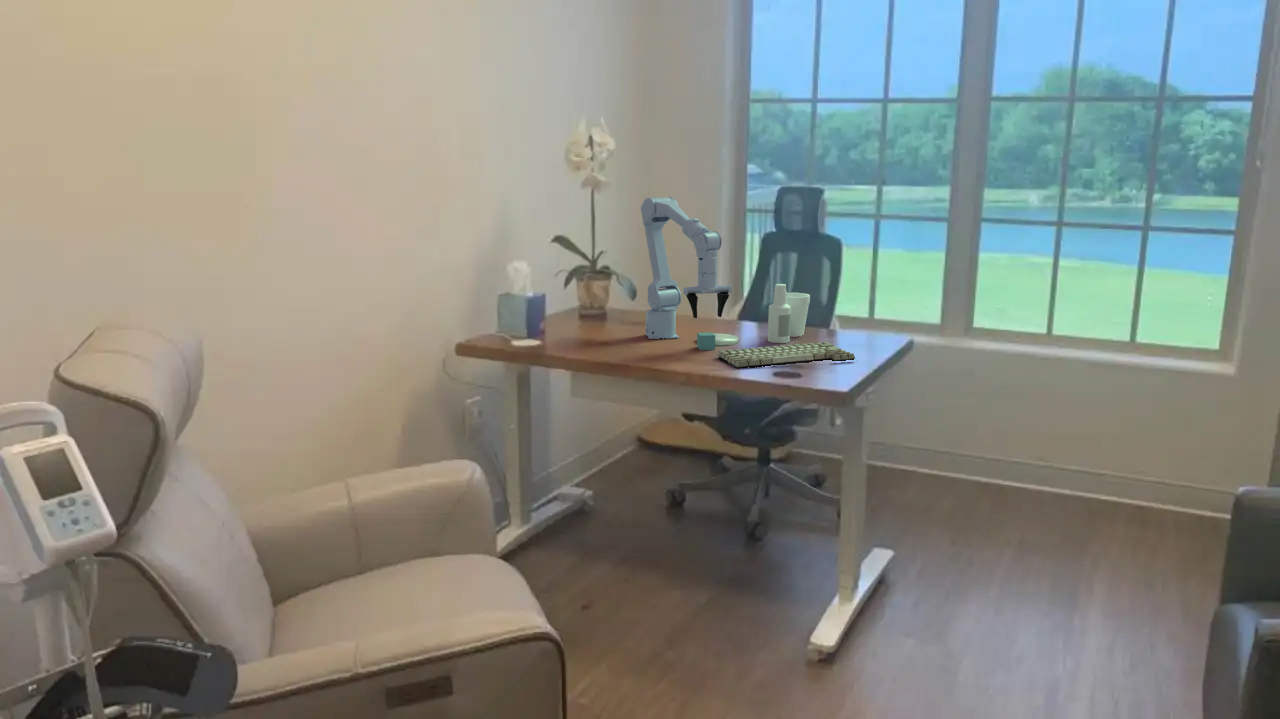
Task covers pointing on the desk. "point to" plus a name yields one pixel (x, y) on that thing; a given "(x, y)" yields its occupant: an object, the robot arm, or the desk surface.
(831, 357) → the mechanical keyboard
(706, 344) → the teal block
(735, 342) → the dish
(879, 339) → the desk surface
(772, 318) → the spray bottle
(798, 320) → the foam cup
